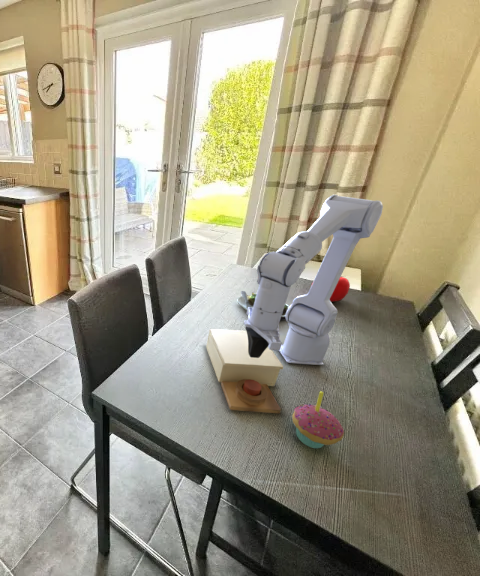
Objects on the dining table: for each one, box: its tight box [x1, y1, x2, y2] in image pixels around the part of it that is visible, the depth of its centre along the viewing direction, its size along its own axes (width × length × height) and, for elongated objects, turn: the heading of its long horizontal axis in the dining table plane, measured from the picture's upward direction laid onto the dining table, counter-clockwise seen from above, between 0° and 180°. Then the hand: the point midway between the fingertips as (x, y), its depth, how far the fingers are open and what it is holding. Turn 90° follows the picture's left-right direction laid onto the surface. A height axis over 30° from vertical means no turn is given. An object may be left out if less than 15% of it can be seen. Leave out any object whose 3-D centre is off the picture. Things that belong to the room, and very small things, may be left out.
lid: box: [208, 328, 284, 370], centre depth 80 cm, size 16×14×1 cm
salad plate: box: [236, 290, 290, 321], centre depth 111 cm, size 19×18×5 cm
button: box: [243, 379, 261, 396], centre depth 72 cm, size 4×4×2 cm
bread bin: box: [205, 331, 281, 387], centre depth 82 cm, size 15×14×6 cm
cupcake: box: [291, 387, 345, 449], centre depth 61 cm, size 9×8×12 cm
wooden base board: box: [220, 379, 282, 414], centre depth 73 cm, size 11×8×3 cm
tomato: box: [330, 275, 351, 303], centre depth 115 cm, size 11×13×10 cm
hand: (253, 355), depth 73 cm, fingers closed
